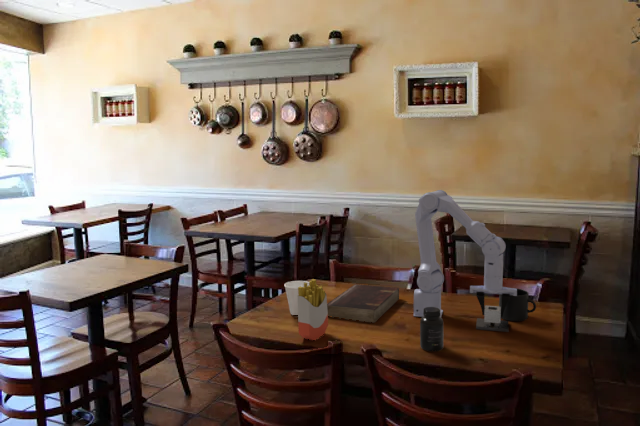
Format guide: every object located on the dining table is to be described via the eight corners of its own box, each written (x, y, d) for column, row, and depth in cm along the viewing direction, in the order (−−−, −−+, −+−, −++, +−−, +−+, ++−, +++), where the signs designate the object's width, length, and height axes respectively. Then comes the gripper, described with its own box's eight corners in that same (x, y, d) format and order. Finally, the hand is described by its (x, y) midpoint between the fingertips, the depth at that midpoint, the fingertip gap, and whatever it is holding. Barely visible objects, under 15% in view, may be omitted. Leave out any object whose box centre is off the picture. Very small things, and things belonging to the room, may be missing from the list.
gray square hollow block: (484, 321, 171) (484, 310, 170) (484, 316, 176) (484, 305, 175) (500, 323, 169) (500, 311, 169) (500, 318, 174) (500, 306, 173)
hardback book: (354, 295, 213) (354, 283, 212) (399, 300, 205) (399, 287, 204) (324, 317, 187) (324, 304, 187) (374, 324, 179) (374, 310, 178)
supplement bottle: (417, 343, 160) (417, 306, 158) (439, 342, 160) (439, 304, 159) (423, 352, 153) (423, 313, 151) (446, 351, 154) (446, 312, 152)
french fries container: (329, 332, 171) (327, 279, 168) (310, 344, 162) (309, 287, 159) (317, 330, 173) (316, 277, 171) (298, 341, 164) (296, 285, 162)
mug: (533, 324, 174) (534, 298, 172) (496, 319, 180) (496, 293, 178) (537, 316, 182) (538, 290, 180) (502, 311, 188) (502, 286, 186)
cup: (280, 316, 188) (279, 286, 186) (292, 308, 197) (291, 279, 196) (305, 319, 184) (304, 289, 183) (316, 310, 193) (315, 281, 192)
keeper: (476, 329, 171) (476, 317, 170) (477, 321, 178) (477, 309, 178) (508, 332, 168) (508, 320, 167) (508, 323, 175) (508, 312, 174)
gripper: (469, 276, 169) (469, 317, 171) (517, 279, 164) (516, 320, 166) (470, 271, 176) (470, 310, 178) (516, 273, 171) (515, 313, 173)
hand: (492, 315), depth 172 cm, fingers closed on gray square hollow block, 5 cm apart
